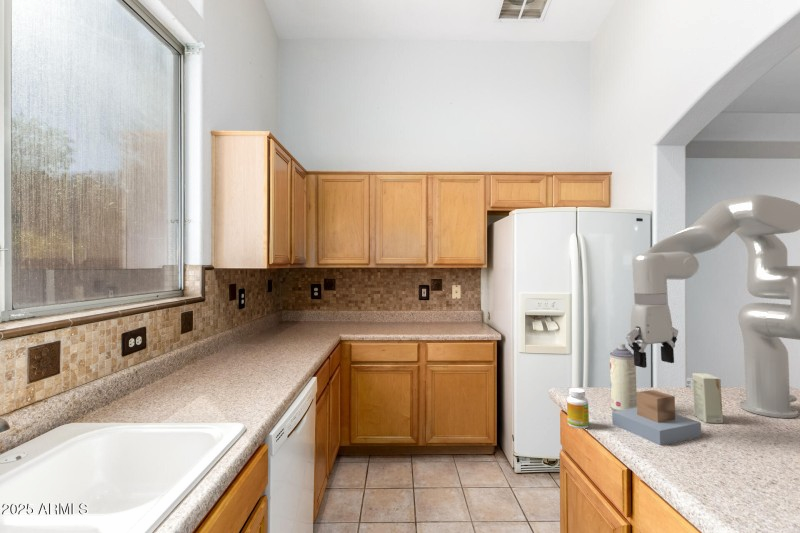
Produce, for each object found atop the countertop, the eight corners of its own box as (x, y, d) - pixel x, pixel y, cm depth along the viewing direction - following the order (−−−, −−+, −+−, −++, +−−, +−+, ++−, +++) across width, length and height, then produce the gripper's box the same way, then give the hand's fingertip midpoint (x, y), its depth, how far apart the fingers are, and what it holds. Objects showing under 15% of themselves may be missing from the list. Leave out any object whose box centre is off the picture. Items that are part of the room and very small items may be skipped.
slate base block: (650, 419, 112) (650, 405, 113) (701, 438, 99) (700, 422, 99) (612, 426, 108) (612, 411, 108) (660, 447, 95) (659, 430, 95)
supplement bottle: (588, 430, 104) (587, 394, 105) (566, 427, 107) (565, 391, 107) (589, 423, 109) (588, 388, 109) (568, 420, 112) (567, 386, 112)
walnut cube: (654, 411, 107) (653, 389, 107) (675, 419, 102) (674, 396, 102) (637, 414, 106) (636, 392, 106) (657, 422, 100) (657, 398, 100)
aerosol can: (618, 404, 123) (616, 341, 124) (641, 410, 118) (639, 344, 118) (606, 409, 120) (604, 343, 120) (630, 415, 114) (627, 347, 114)
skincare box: (723, 424, 106) (722, 379, 106) (705, 423, 107) (704, 378, 107) (710, 415, 113) (708, 372, 113) (693, 414, 114) (691, 372, 114)
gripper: (661, 297, 110) (664, 357, 110) (613, 301, 105) (617, 365, 105) (688, 298, 103) (691, 363, 103) (638, 303, 98) (642, 371, 98)
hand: (654, 364), depth 104 cm, fingers open, 9 cm apart
